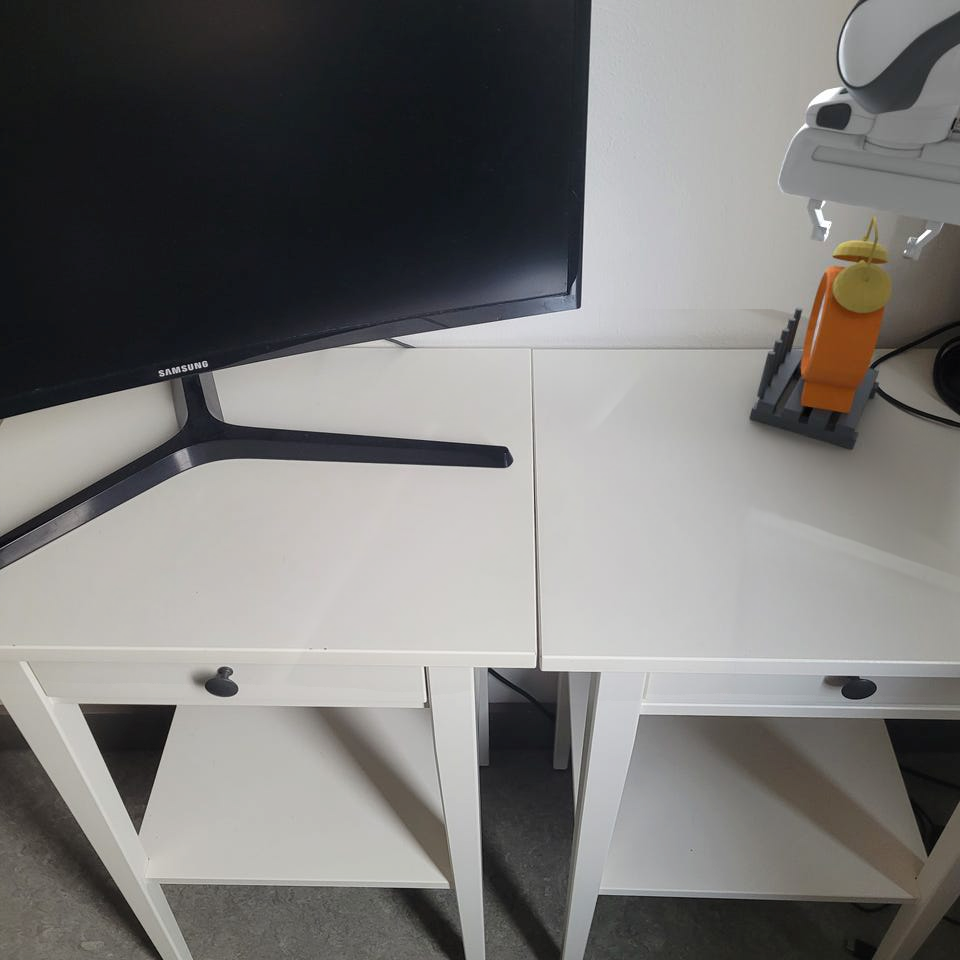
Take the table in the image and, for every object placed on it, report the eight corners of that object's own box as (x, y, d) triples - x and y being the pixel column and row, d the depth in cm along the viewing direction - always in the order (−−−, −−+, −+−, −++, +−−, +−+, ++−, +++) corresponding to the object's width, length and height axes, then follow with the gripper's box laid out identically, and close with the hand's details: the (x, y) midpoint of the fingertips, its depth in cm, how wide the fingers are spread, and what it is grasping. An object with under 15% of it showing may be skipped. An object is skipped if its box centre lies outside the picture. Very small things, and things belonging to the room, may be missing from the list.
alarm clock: (798, 354, 104) (842, 200, 91) (849, 362, 103) (901, 206, 90) (795, 412, 94) (843, 248, 82) (851, 421, 93) (909, 256, 80)
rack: (876, 391, 103) (899, 328, 97) (851, 450, 94) (875, 385, 88) (780, 366, 108) (797, 304, 102) (748, 419, 98) (764, 355, 93)
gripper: (1029, 118, 76) (973, 258, 85) (807, 90, 85) (777, 219, 93) (1024, 137, 72) (966, 281, 81) (791, 105, 80) (761, 239, 89)
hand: (863, 248), depth 87 cm, fingers open, 8 cm apart
